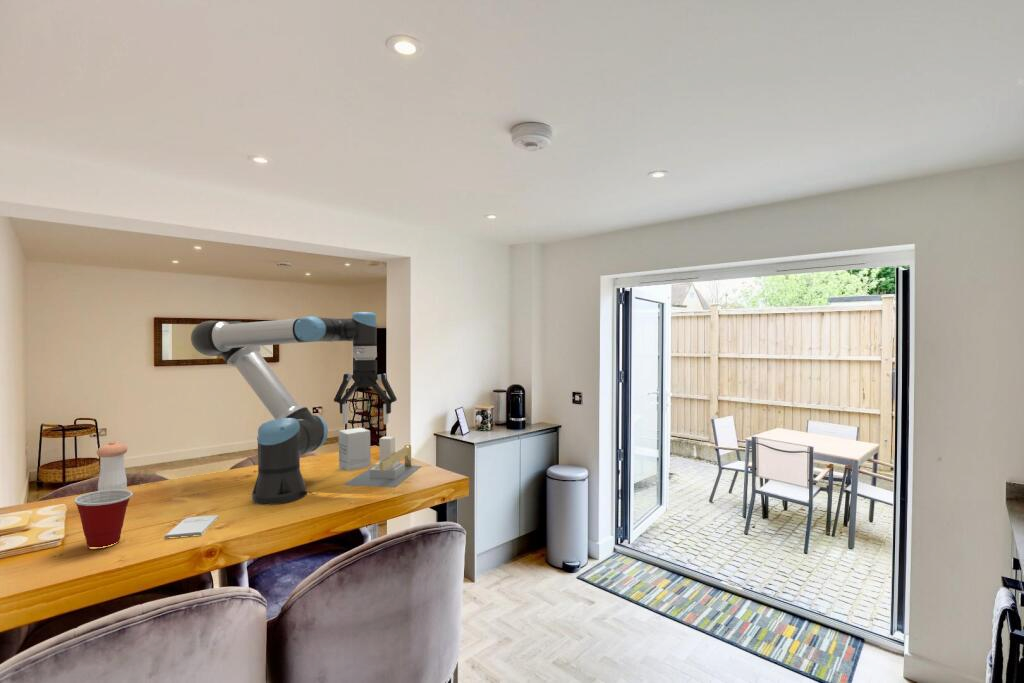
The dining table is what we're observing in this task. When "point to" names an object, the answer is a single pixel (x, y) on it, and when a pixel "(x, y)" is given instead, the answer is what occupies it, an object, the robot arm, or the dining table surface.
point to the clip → (397, 458)
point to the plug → (387, 450)
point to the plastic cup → (103, 515)
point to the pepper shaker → (112, 467)
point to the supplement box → (354, 449)
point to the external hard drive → (192, 526)
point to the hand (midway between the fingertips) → (365, 423)
